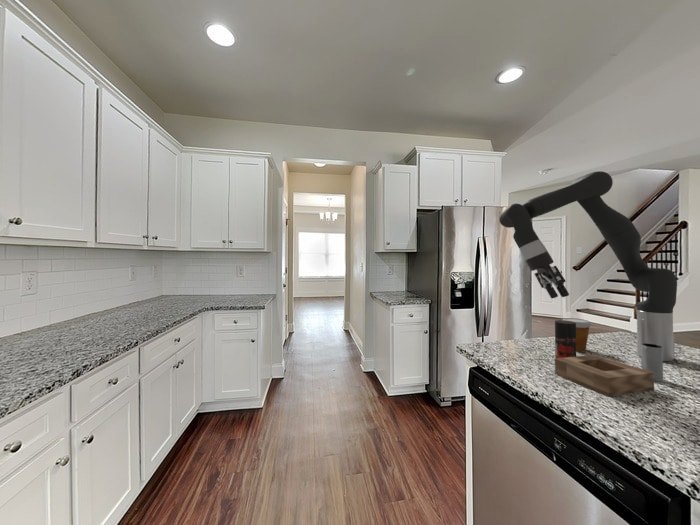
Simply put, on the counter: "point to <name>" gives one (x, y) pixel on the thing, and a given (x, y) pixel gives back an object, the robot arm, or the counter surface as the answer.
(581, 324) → the disposable coffee cup
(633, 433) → the counter surface
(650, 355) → the gray cylindrical tube
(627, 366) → the socket block
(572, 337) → the deodorant
